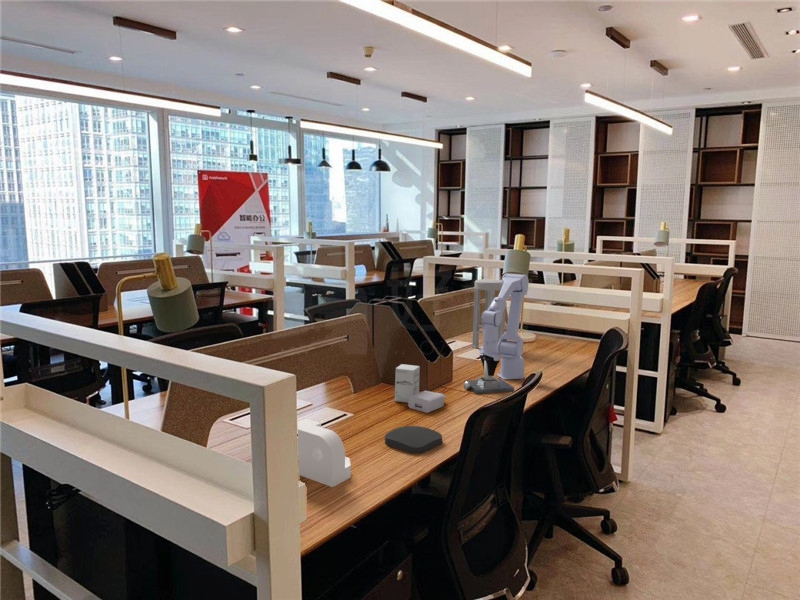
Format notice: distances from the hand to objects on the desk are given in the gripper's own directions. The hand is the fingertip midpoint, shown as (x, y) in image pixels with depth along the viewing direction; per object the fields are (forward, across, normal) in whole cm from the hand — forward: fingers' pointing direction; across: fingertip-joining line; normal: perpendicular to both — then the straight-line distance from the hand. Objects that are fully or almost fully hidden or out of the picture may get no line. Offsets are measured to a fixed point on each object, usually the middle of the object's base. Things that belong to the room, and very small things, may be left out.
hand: (488, 374), depth 238 cm
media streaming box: (+6, +48, -45) cm, 66 cm away
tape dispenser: (+6, +63, -74) cm, 97 cm away
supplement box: (+6, +8, -36) cm, 37 cm away
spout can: (+2, 0, 0) cm, 2 cm away
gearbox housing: (+6, 0, 0) cm, 6 cm away
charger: (+6, +16, -29) cm, 34 cm away
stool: (+6, -66, +28) cm, 72 cm away
